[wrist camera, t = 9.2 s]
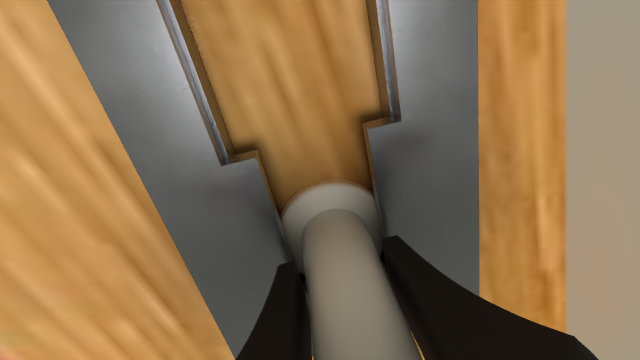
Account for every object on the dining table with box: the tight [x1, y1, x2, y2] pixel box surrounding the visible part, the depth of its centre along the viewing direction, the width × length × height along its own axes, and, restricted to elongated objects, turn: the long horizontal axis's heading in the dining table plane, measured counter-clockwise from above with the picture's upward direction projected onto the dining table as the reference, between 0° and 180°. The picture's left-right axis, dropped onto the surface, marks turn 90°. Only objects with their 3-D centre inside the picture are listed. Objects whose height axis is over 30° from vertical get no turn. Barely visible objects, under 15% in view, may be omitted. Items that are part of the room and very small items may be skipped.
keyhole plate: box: [47, 0, 479, 359], centre depth 13 cm, size 20×12×2 cm, turn 13°
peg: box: [280, 179, 422, 360], centre depth 12 cm, size 5×5×8 cm
